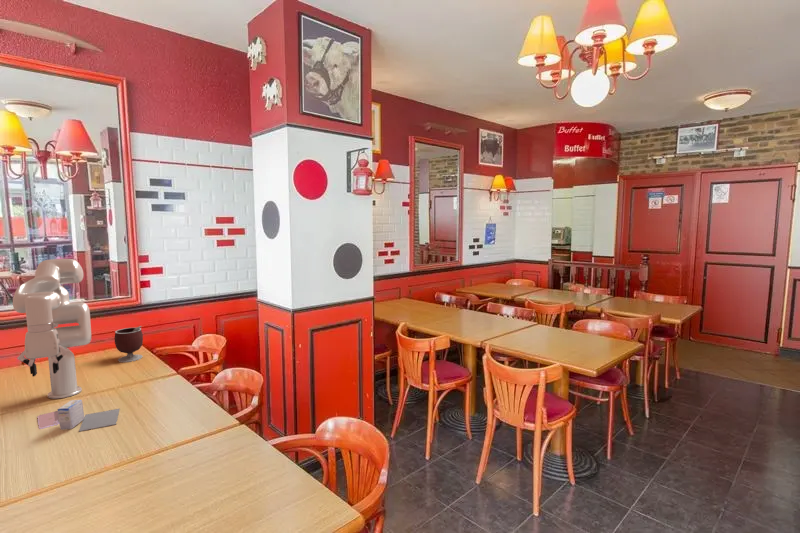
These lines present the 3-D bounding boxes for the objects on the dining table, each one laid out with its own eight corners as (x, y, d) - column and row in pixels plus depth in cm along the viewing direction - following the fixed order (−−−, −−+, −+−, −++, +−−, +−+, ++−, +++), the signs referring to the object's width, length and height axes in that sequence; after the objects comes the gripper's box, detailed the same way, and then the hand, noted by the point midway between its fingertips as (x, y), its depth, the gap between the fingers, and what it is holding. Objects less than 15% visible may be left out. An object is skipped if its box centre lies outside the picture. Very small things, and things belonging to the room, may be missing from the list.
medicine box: (73, 420, 175) (70, 400, 174) (85, 419, 175) (82, 399, 174) (60, 430, 167) (56, 409, 166) (72, 429, 167) (69, 408, 166)
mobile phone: (60, 409, 184) (63, 421, 173) (60, 411, 184) (63, 424, 173) (36, 415, 178) (38, 428, 167) (37, 417, 179) (39, 430, 168)
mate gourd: (110, 362, 245) (107, 328, 243) (129, 354, 259) (126, 322, 257) (134, 363, 243) (131, 329, 241) (152, 355, 257) (149, 323, 254)
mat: (85, 415, 179) (85, 414, 179) (119, 409, 185) (119, 408, 185) (78, 431, 165) (78, 431, 165) (116, 424, 171) (115, 424, 171)
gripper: (70, 323, 170) (74, 367, 173) (14, 328, 162) (19, 374, 164) (66, 327, 164) (71, 373, 166) (7, 333, 156) (13, 381, 158)
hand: (45, 373), depth 165 cm, fingers open, 5 cm apart
